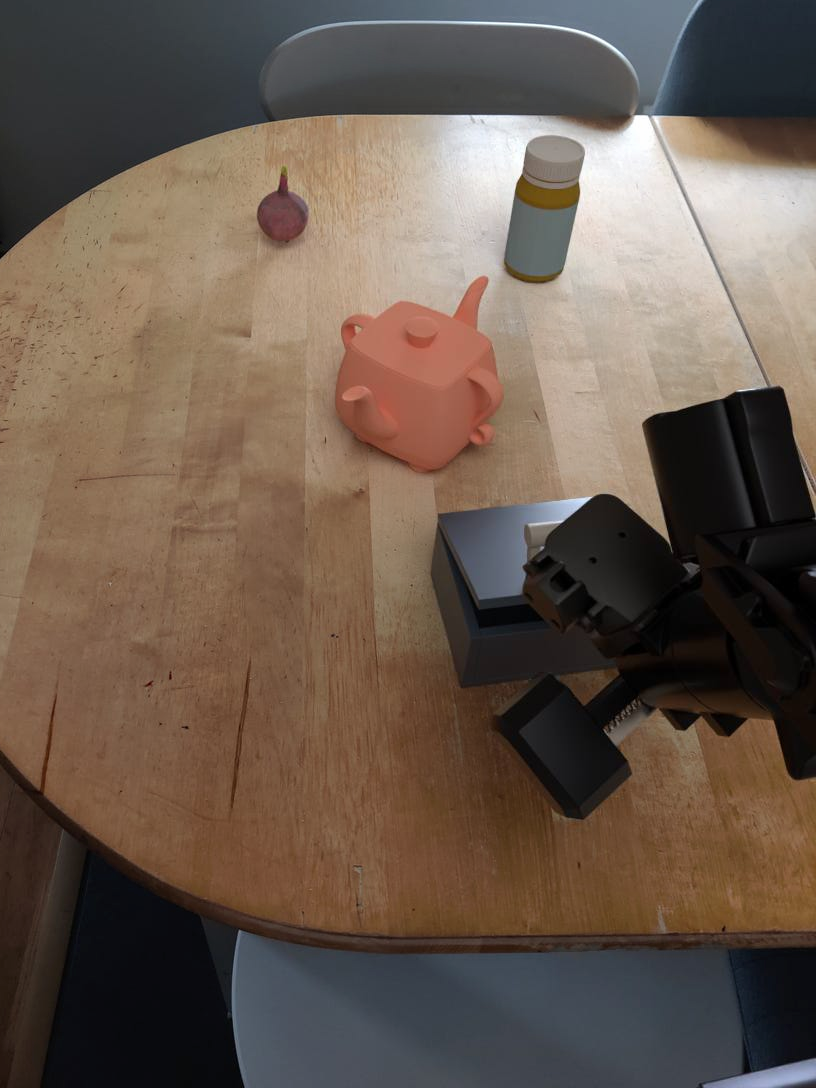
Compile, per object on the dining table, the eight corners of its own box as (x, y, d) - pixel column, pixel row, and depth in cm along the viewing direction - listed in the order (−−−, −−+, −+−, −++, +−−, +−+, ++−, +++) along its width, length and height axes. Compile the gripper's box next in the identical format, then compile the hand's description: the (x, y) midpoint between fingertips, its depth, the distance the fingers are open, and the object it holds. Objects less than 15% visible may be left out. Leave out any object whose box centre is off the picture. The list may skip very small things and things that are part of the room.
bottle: (501, 282, 102) (521, 161, 92) (504, 248, 107) (523, 130, 96) (563, 288, 102) (590, 167, 91) (562, 254, 106) (588, 135, 96)
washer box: (634, 665, 67) (658, 615, 63) (460, 688, 66) (471, 639, 61) (587, 555, 75) (605, 503, 70) (430, 573, 73) (437, 521, 69)
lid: (675, 585, 60) (684, 524, 57) (478, 610, 58) (480, 548, 56) (606, 503, 70) (611, 449, 68) (437, 522, 68) (437, 467, 66)
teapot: (341, 496, 79) (342, 392, 70) (329, 375, 91) (329, 271, 82) (506, 488, 80) (528, 383, 71) (473, 368, 92) (489, 265, 83)
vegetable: (308, 257, 106) (306, 181, 99) (256, 257, 106) (251, 181, 99) (310, 230, 110) (308, 155, 103) (260, 229, 110) (255, 154, 103)
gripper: (752, 387, 42) (620, 463, 57) (457, 636, 38) (399, 646, 53) (919, 573, 40) (738, 600, 55) (630, 854, 36) (519, 801, 51)
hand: (599, 655), depth 54 cm, fingers open, 9 cm apart
